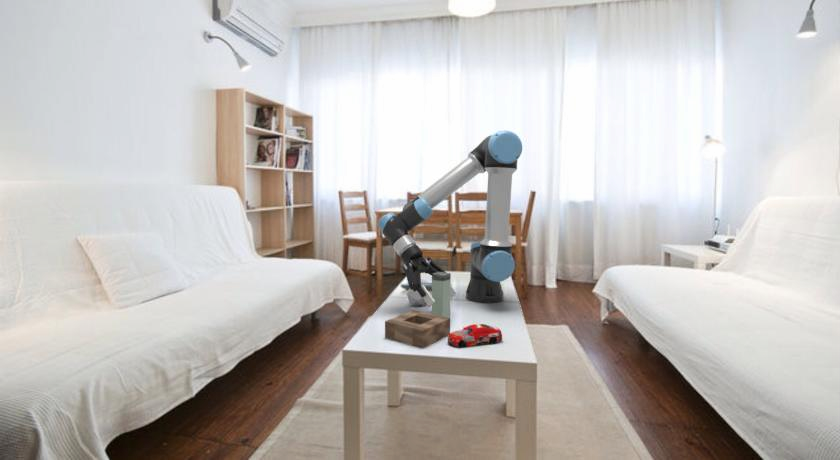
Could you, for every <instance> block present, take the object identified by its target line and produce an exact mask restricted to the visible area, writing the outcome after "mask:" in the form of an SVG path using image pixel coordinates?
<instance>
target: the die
mask: <svg viewBox="0 0 840 460" xmlns="http://www.w3.org/2000/svg"><path fill="white" fill-rule="evenodd" d="M422 285H424V286H425V288H426V289H427V287H426V285H425V284H424V283H421V286H422ZM406 296H407V298H408V302H409V304H410V306H411V307H413V306H414V307H415V306H416V307H418V306H421V307H423V306H425V304H427V303H426V302H425V300H424V299H423V298H422V297H421V296H420V294H419V293H418V291H417V290H416V292H414V291H413V289H412V290H411V289H410V288H408V291H407V293H406Z"/></svg>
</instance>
